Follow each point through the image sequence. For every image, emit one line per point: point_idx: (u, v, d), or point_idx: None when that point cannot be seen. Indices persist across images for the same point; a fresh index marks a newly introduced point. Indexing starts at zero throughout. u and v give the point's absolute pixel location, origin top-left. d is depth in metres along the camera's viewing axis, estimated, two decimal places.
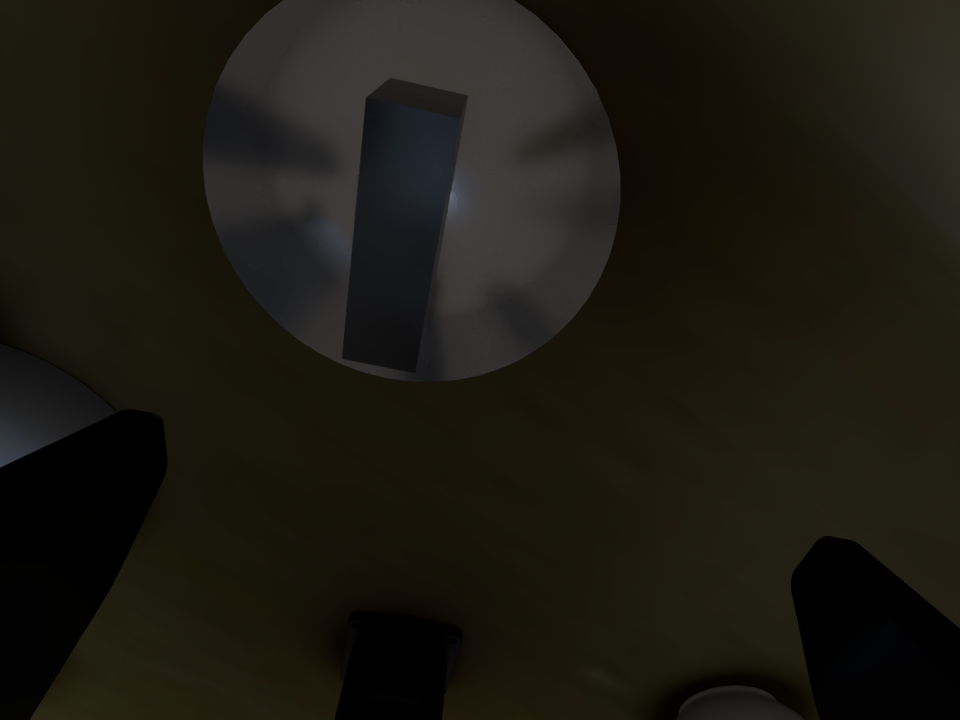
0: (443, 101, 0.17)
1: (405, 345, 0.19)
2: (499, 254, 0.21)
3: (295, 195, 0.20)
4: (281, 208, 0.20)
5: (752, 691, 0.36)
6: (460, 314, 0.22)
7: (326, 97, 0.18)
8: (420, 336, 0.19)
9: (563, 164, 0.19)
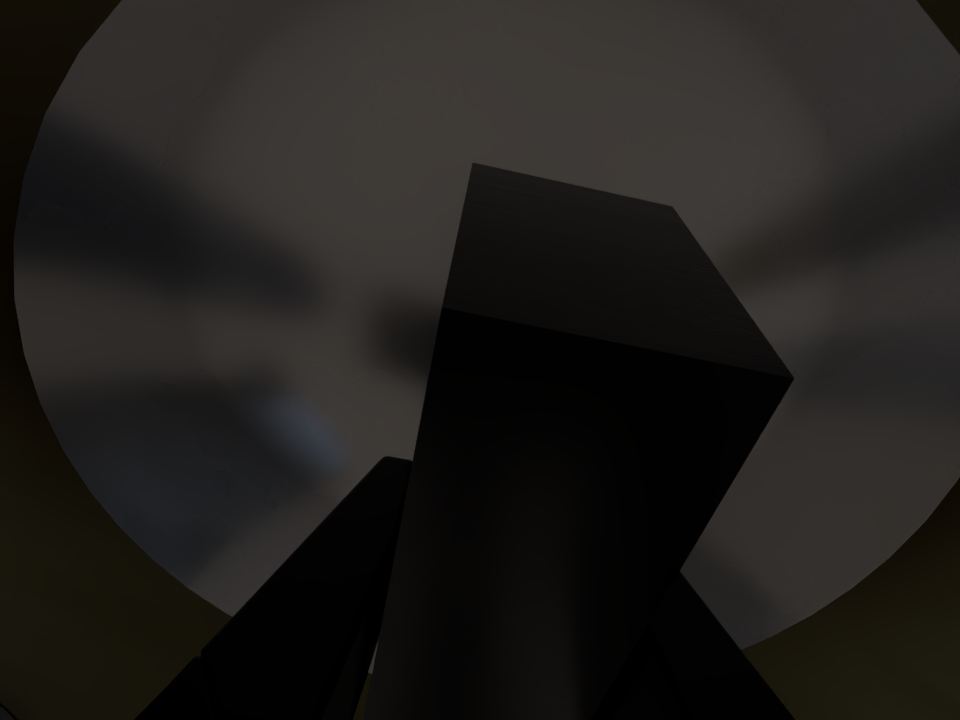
0: (657, 257, 0.05)
1: None
2: None
3: (239, 407, 0.09)
4: (210, 430, 0.09)
5: None
6: None
7: (305, 208, 0.07)
8: None
9: (875, 358, 0.08)
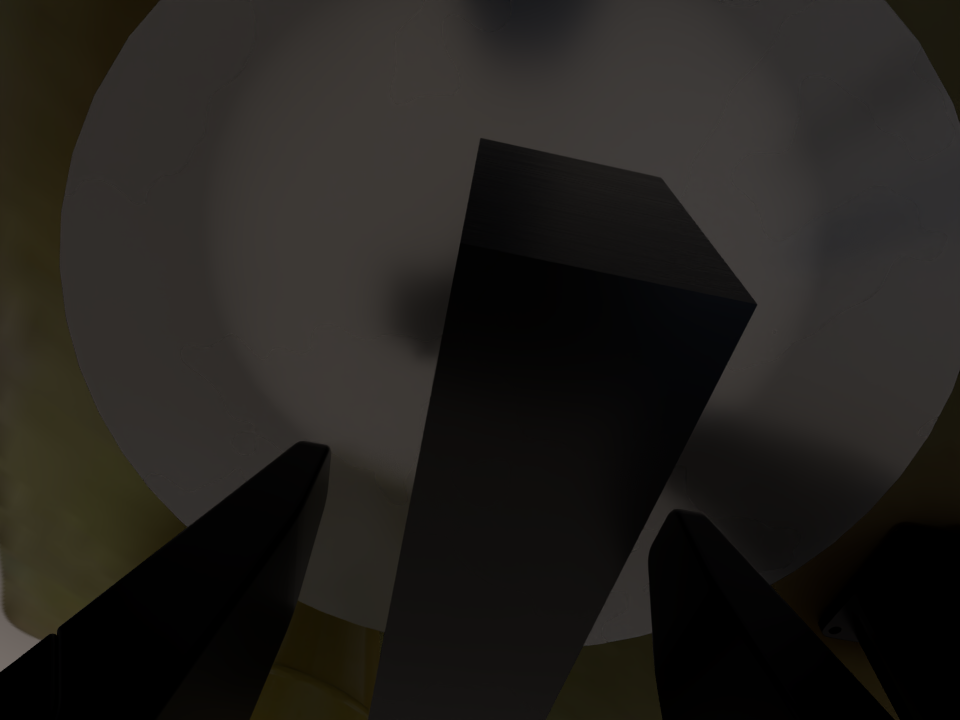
0: (645, 215, 0.06)
1: None
2: (673, 473, 0.10)
3: (263, 369, 0.10)
4: (236, 392, 0.10)
5: None
6: None
7: (328, 180, 0.08)
8: (542, 718, 0.08)
9: (849, 319, 0.09)
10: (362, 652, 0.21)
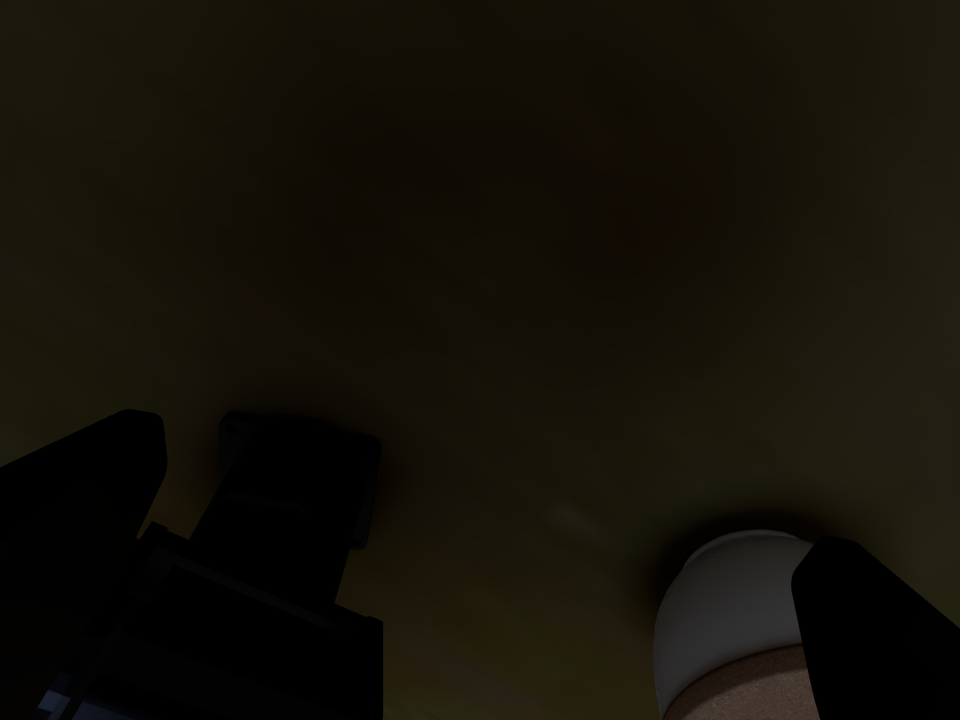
0: None
1: None
2: None
3: None
4: None
5: (781, 536, 0.26)
6: None
7: None
8: None
9: None
10: None
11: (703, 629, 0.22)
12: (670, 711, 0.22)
